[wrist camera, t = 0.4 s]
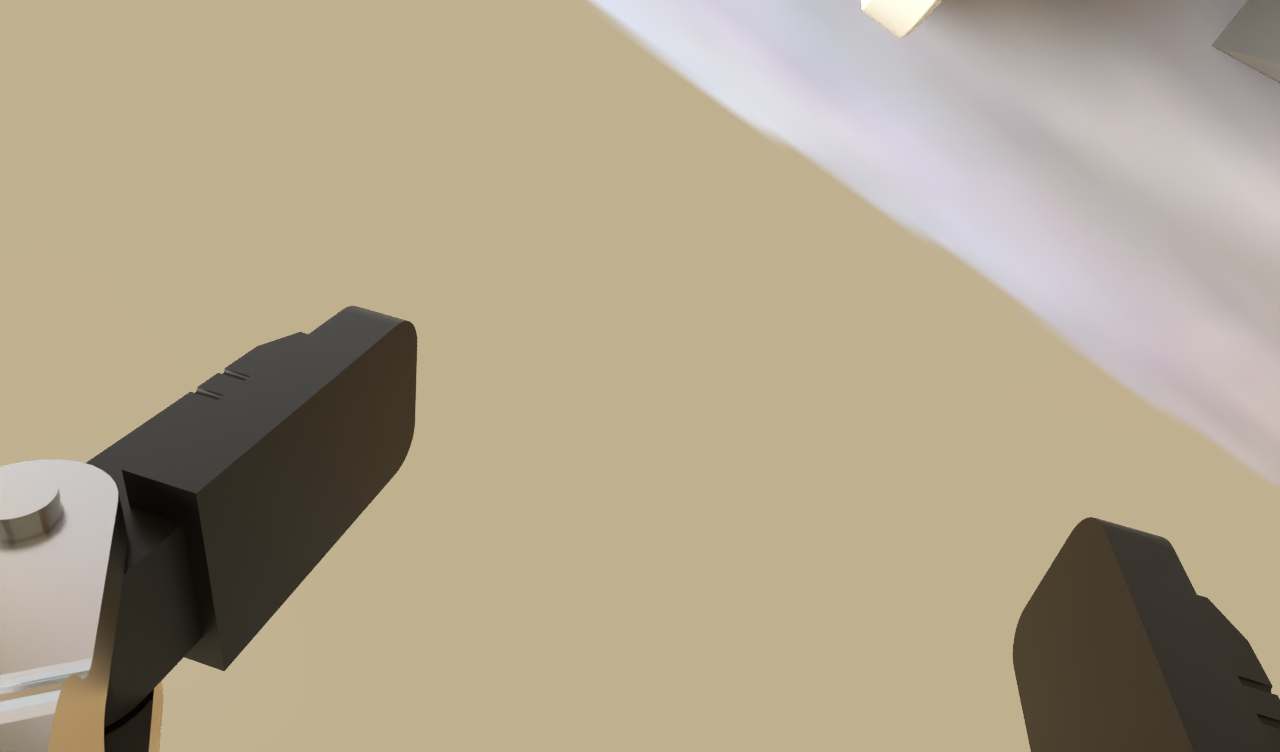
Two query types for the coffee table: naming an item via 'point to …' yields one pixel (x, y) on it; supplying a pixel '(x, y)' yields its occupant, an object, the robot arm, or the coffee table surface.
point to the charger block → (1255, 37)
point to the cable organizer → (899, 13)
